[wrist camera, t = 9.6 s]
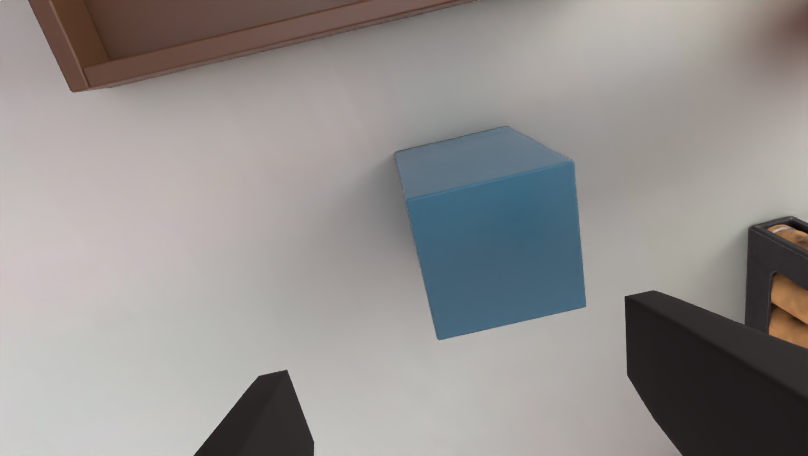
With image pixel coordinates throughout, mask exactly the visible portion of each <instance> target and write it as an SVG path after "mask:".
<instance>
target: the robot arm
mask: <svg viewBox="0 0 808 456" xmlns="http://www.w3.org/2000/svg"><path fill="white" fill-rule="evenodd" d="M625 319H626V351H627V375H628V377H629V379H630V380H631V382H632V384H633V385H634V387H635V389H636V391H637V392H638V394H639V396H640V397H641V399H642V401H643V402H644V404H645V405H646V407H647V409H648V410H649V412H650V413H651V415H652V416H653V418H654V419H655V421H656V422H657V423H658V425H659V426H660V427H661V429H662V430H663V431H664V432H665V434H666V435H667V436H668V438H669V439H670V440H671V441H672V443H673V444H674V445H675V446H676V448H677V449H678V450H679V452H680V453H681V454H682V455H683V456H808V349H807V348H804V347H802V346H799V345H796V344H793V343H791V342H788V341H785V340H782V339H780V338H777V337H774V336H772V335H769V334H766V333H764V332H761V331H759V330H756V329H753V328H751V327H748V326H746V325H743V324H741V323H738V322H736V321H733V320H730V319H728V318H725V317H723V316H720V315H718V314H715V313H713V312H710V311H708V310H705V309H703V308H700V307H698V306H695V305H693V304H690V303H688V302H685V301H683V300H680V299H677V298H675V297H672V296H669V295H667V294H664V293H661V292H658V291H654V290H652V291H648V292H643V293H639V294H634V295H629V296H625ZM194 456H314V441H313V438H312V436H311V433H310V430H309V428H308V425H307V422H306V419H305V417H304V414H303V411H302V409H301V406H300V403H299V401H298V398H297V395H296V392H295V390H294V387H293V384H292V382H291V379H290V376H289V374H288V371H287V370H284V371H279V372H275V373H270V374H265V375H261V376H258V378H257V379H256V380H255V381H254V382H253V383H252V384H251V386H250V387H249V388H248V389H247V390H246V392H245V393H244V394H243V395H242V397H241V398H240V399H239V400H238V402H237V403H236V404H235V405H234V407H233V408H232V409H231V410H230V412H229V413H228V414H227V415H226V417H225V418H224V419H223V420H222V422H221V423H220V424H219V425H218V427H217V428H216V429H215V430H214V431H213V433H212V434H211V435H210V436H209V438H208V439H207V440H206V441H205V442H204V444H203V445H202V446H201V447H200V449H199V450H198V451H197V452H196V453H195V455H194Z"/></svg>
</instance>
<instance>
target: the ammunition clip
mask: <svg viewBox="0 0 808 456" xmlns="http://www.w3.org/2000/svg"><path fill="white" fill-rule="evenodd" d="M745 325H746V326H748V327H751V328H753V329H756V330H759V331H761V332H764V333H766V334H769V335H772V336H774V337H777V338H780V339H782V340H785V341H788V342H791V343H793V344H796V345H799V346H802V347H804V348H807V349H808V223H806V222H804V221H802V220H799V219H797V218H795V217H793V216H791V217H787V218H783V219H779V220H775V221H771V222H767V223H763V224H759V225H755V226H752V227H751V228H749V238H748V264H747V291H746V317H745Z"/></svg>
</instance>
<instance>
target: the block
mask: <svg viewBox="0 0 808 456" xmlns="http://www.w3.org/2000/svg"><path fill="white" fill-rule="evenodd" d="M394 155H395V160H396V164H397V168H398V173H399V177H400V181H401V186H402V190H403V194H404V199H405V203H406V207H407V212H408V216H409V220H410V225H411V229H412V233H413V238H414V242H415V246H416V250H417V255H418V259H419V263H420V268H421V272H422V276H423V280H424V285H425V289H426V293H427V298H428V302H429V306H430V310H431V315H432V319H433V323H434V327H435V332H436V336H437V339H438V340H443V339H447V338H452V337H456V336H460V335H465V334H469V333H474V332H478V331H482V330H487V329H491V328H495V327H500V326H504V325H509V324H513V323H517V322H522V321H526V320H531V319H535V318H539V317H544V316H548V315H553V314H557V313H561V312H566V311H570V310H575V309H579V308H583V307H586V298H585V286H584V274H583V263H582V251H581V239H580V227H579V215H578V203H577V191H576V179H575V167H574V162H573V161H572V160H571V159H569V158H567V157H565V156H563V155H561V154H559V153H557V152H556V151H554V150H552V149H550V148H548V147H546V146H544V145H543V144H541V143H539V142H537V141H535V140H533V139H531V138H529V137H528V136H526V135H524V134H522V133H520V132H518V131H516V130H515V129H513V128H511V127H509V126H505V127H500V128H496V129H492V130H488V131H483V132H479V133H475V134H470V135H466V136H462V137H458V138H453V139H449V140H445V141H441V142H436V143H432V144H428V145H423V146H419V147H415V148H411V149H406V150H402V151H398V152H395V153H394Z"/></svg>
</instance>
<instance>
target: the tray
mask: <svg viewBox="0 0 808 456" xmlns="http://www.w3.org/2000/svg"><path fill="white" fill-rule="evenodd" d="M28 1H29V3H30V5H31V7H32V10H33V12H34V14H35V16H36V18H37V20H38V22H39V24H40V27H41V29H42V31H43V33H44V35H45V37H46V39H47V41H48V43H49V46H50V48H51V50H52V52H53V54H54V56H55V58H56V60H57V63H58V65H59V67H60V69H61V71H62V73H63V75H64V77H65V80H66V82H67V84H68V86H69V88H70V90H71V91H72V92H81V91H88V90H96V89H103V88H111V87H115V86H120V85H124V84H128V83H132V82H136V81H141V80H145V79H149V78H153V77H158V76H162V75H166V74H170V73H174V72H179V71H183V70H187V69H191V68H195V67H200V66H204V65H208V64H212V63H216V62H221V61H225V60H229V59H233V58H237V57H242V56H246V55H250V54H254V53H258V52H263V51H267V50H271V49H275V48H279V47H284V46H288V45H292V44H296V43H300V42H305V41H309V40H313V39H317V38H322V37H326V36H330V35H334V34H338V33H343V32H347V31H351V30H355V29H359V28H364V27H368V26H372V25H376V24H380V23H385V22H389V21H393V20H397V19H401V18H406V17H410V16H414V15H418V14H422V13H427V12H431V11H435V10H439V9H443V8H448V7H452V6H456V5H460V4H464V3H469V2H473V1H477V0H28Z"/></svg>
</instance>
